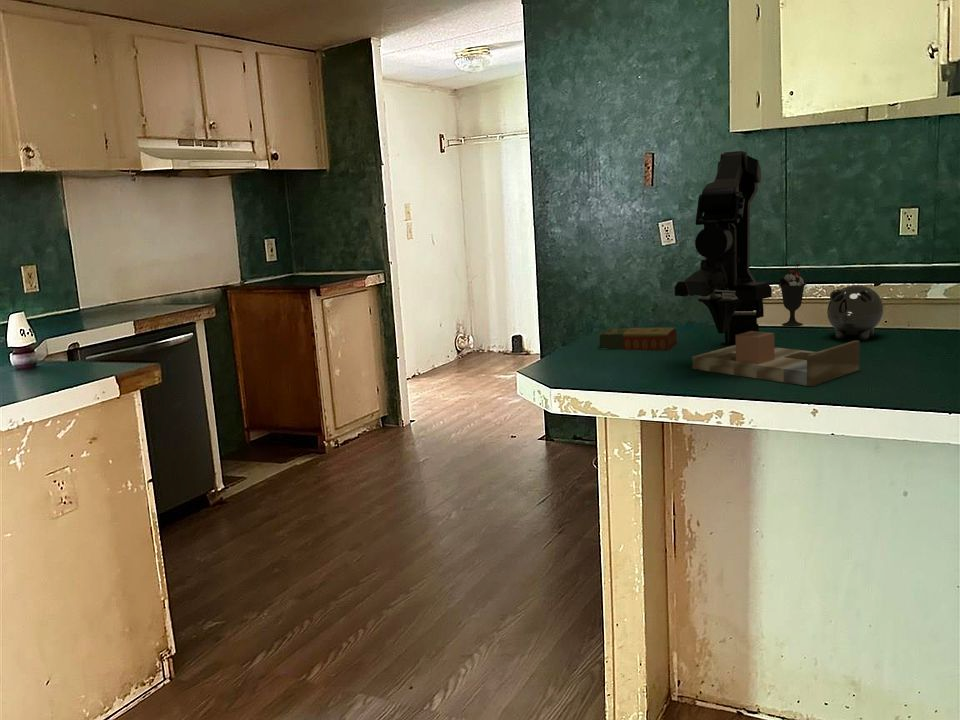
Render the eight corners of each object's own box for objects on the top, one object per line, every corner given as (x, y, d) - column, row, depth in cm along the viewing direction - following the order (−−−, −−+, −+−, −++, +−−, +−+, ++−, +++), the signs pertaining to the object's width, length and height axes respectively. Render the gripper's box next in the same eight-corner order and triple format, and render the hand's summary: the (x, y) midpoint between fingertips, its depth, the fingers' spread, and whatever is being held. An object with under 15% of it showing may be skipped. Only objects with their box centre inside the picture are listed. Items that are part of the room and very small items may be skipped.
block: (735, 361, 156) (735, 335, 156) (751, 356, 159) (751, 330, 158) (759, 363, 153) (758, 337, 152) (774, 359, 156) (774, 333, 155)
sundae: (807, 322, 205) (808, 262, 202) (805, 327, 199) (806, 265, 196) (779, 322, 208) (779, 263, 205) (776, 327, 202) (776, 265, 199)
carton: (668, 352, 183) (668, 333, 183) (599, 351, 190) (598, 332, 190) (676, 344, 191) (676, 326, 190) (609, 343, 198) (609, 326, 197)
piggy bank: (819, 342, 180) (820, 290, 178) (834, 330, 192) (835, 281, 190) (875, 344, 174) (876, 290, 172) (887, 332, 186) (888, 281, 184)
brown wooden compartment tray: (692, 368, 164) (692, 341, 163) (741, 355, 173) (740, 329, 172) (812, 386, 144) (812, 355, 143) (859, 369, 153) (859, 340, 152)
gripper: (655, 256, 161) (657, 335, 164) (737, 258, 147) (738, 344, 150) (691, 251, 168) (692, 327, 171) (773, 252, 153) (773, 335, 156)
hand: (721, 333), depth 162 cm, fingers closed
